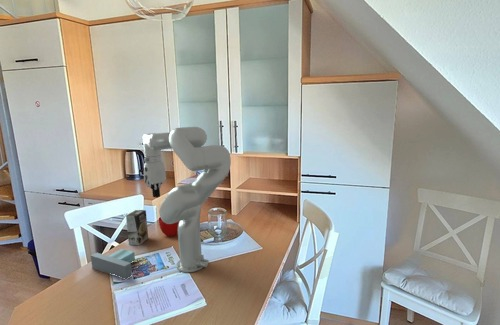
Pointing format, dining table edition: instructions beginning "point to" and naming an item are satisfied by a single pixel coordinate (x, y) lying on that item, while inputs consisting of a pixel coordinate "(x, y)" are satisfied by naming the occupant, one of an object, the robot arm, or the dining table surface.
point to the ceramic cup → (169, 228)
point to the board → (111, 265)
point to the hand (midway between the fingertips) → (156, 196)
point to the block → (124, 255)
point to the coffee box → (137, 227)
